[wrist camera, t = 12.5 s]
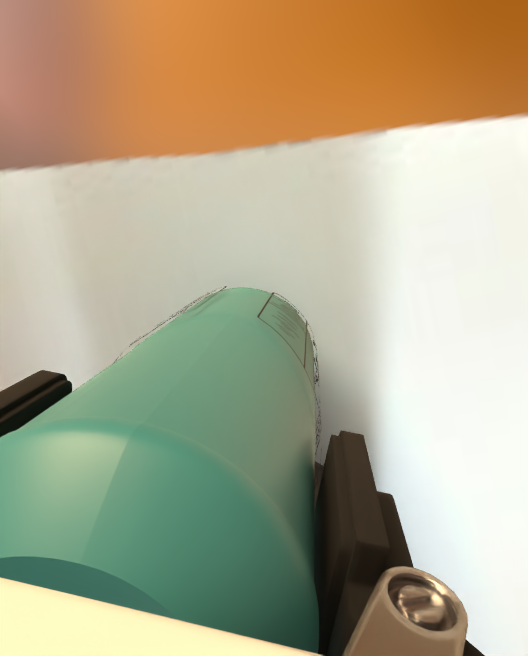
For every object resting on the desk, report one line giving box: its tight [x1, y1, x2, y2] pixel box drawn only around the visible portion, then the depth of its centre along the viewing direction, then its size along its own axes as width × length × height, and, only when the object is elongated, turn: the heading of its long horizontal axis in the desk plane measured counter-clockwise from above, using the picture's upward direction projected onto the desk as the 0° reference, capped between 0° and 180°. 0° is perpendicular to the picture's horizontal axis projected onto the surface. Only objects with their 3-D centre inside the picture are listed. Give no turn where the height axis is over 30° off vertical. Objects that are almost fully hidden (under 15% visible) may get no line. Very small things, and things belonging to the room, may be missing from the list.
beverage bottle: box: [0, 286, 322, 654], centre depth 12 cm, size 6×7×20 cm
